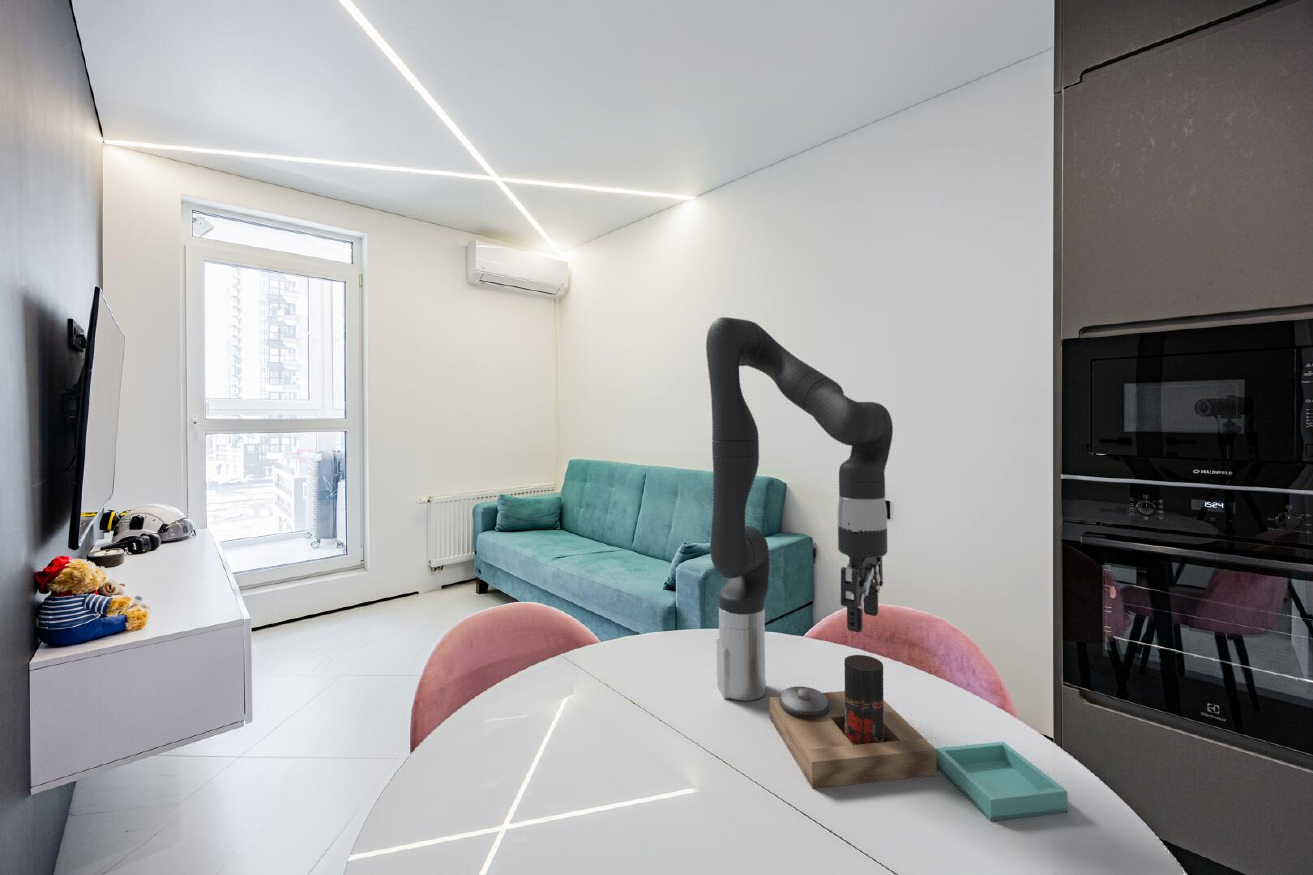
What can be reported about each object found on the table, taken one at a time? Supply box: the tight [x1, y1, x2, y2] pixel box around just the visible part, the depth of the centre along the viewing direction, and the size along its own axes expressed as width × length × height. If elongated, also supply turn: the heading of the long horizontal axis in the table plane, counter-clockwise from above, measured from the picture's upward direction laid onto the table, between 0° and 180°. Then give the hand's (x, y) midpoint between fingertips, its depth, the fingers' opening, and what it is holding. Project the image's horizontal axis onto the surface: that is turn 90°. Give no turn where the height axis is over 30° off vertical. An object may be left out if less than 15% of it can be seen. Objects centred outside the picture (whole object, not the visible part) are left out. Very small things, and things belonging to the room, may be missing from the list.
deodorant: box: [844, 654, 884, 745], centre depth 88 cm, size 6×6×15 cm
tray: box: [935, 741, 1068, 822], centre depth 79 cm, size 12×12×3 cm
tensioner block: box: [769, 686, 937, 789], centre depth 91 cm, size 20×19×7 cm
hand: (863, 622), depth 88 cm, fingers open, 8 cm apart
